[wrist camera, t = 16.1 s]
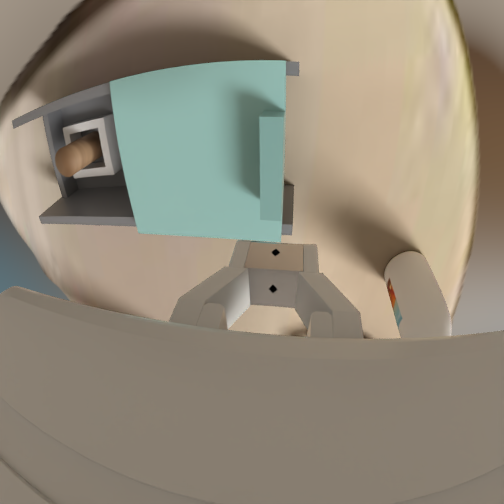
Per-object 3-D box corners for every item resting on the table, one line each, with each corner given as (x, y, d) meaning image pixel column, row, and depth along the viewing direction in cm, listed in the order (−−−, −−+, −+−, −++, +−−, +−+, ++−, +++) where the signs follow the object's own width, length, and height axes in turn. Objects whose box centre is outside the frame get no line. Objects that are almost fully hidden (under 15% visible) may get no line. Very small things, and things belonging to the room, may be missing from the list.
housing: (293, 193, 34) (291, 235, 27) (76, 193, 39) (41, 223, 31) (297, 65, 24) (299, 62, 17) (56, 102, 29) (12, 120, 21)
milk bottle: (387, 249, 37) (424, 369, 21) (431, 249, 36) (479, 359, 20) (379, 287, 42) (401, 399, 26) (419, 285, 40) (451, 390, 24)
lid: (281, 236, 27) (278, 262, 24) (142, 228, 29) (125, 250, 25) (285, 61, 17) (284, 58, 14) (115, 80, 19) (88, 86, 16)
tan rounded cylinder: (104, 129, 30) (72, 145, 25) (109, 155, 33) (79, 175, 27) (84, 133, 31) (52, 150, 25) (89, 158, 33) (59, 178, 28)
